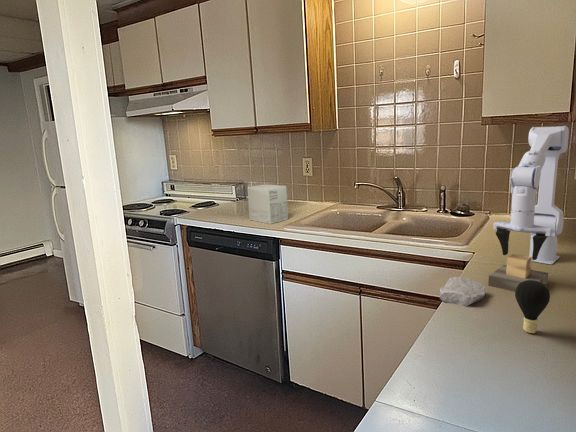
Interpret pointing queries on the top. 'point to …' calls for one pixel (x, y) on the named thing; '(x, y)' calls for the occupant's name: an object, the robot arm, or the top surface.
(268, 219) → the supplement box
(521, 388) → the top surface
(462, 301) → the stone block
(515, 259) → the maple cube
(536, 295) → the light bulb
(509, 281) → the base block
